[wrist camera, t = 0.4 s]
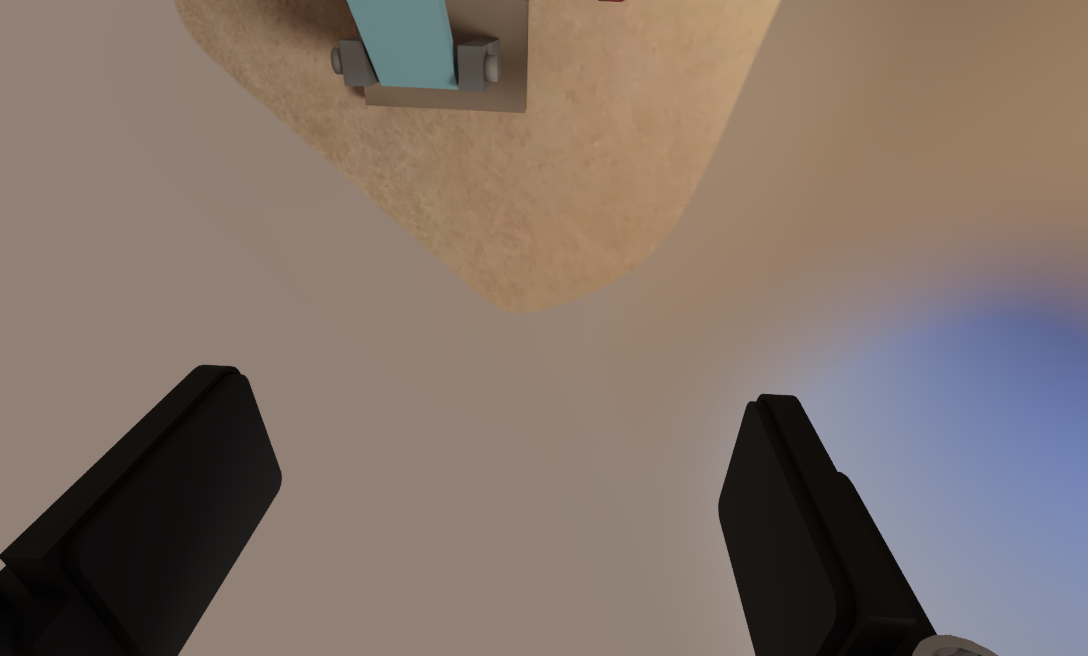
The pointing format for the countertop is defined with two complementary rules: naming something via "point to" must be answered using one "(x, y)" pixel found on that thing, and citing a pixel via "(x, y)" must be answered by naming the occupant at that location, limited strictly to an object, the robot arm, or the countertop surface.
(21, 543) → the robot arm
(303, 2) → the countertop surface
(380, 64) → the bar
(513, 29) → the clip base
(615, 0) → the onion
